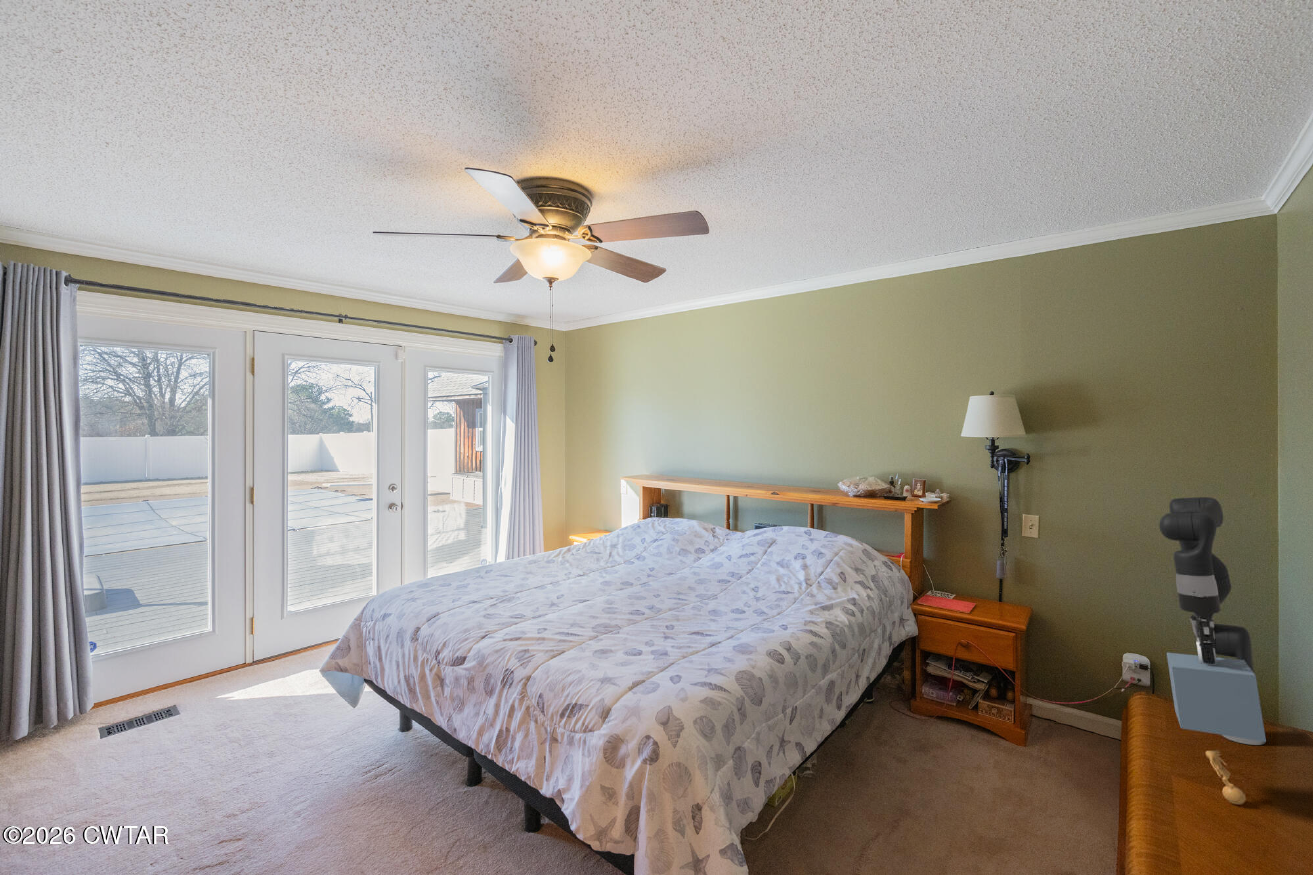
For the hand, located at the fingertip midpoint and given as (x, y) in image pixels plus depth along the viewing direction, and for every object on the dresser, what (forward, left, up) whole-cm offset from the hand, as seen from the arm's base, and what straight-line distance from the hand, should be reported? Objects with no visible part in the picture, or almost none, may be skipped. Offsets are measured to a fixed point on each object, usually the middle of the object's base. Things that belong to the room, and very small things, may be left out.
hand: (1207, 660), depth 140 cm
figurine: (0, 0, -34) cm, 34 cm away
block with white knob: (0, 0, -16) cm, 16 cm away
